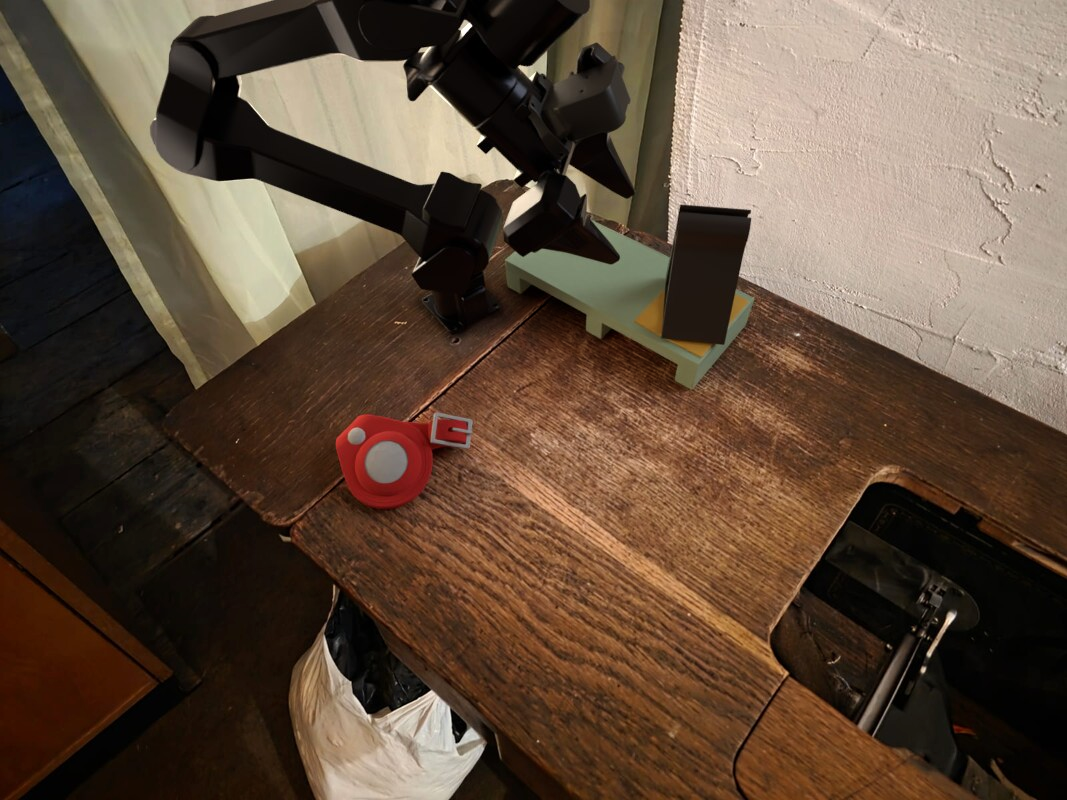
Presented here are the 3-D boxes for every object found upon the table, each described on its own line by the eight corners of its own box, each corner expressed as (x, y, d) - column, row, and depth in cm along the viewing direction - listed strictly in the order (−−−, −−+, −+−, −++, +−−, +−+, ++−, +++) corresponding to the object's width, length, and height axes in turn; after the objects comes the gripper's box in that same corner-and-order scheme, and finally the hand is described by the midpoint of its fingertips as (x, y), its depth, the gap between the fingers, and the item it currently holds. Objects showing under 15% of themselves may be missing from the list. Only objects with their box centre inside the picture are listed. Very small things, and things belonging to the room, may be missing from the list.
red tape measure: (388, 529, 57) (306, 454, 59) (398, 534, 62) (322, 464, 63) (483, 424, 60) (402, 356, 62) (486, 436, 64) (410, 372, 66)
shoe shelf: (507, 286, 76) (504, 258, 72) (566, 235, 81) (566, 206, 77) (691, 390, 66) (698, 363, 63) (746, 324, 71) (755, 296, 68)
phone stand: (665, 275, 70) (682, 176, 60) (724, 281, 69) (750, 182, 60) (660, 339, 65) (677, 243, 55) (723, 346, 64) (752, 249, 54)
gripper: (539, 101, 43) (687, 256, 50) (591, -25, 53) (707, 117, 60) (439, 191, 50) (580, 314, 57) (502, 65, 61) (614, 182, 68)
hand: (624, 227), depth 61 cm, fingers open, 9 cm apart
